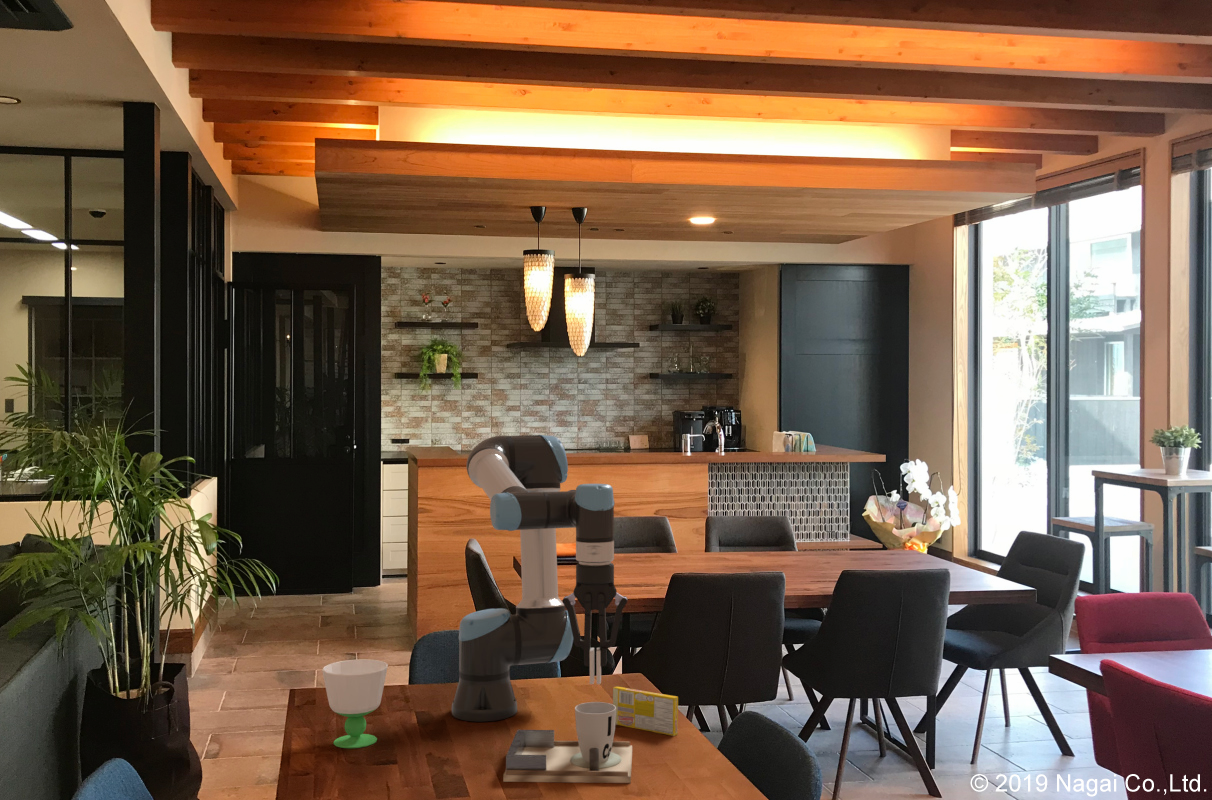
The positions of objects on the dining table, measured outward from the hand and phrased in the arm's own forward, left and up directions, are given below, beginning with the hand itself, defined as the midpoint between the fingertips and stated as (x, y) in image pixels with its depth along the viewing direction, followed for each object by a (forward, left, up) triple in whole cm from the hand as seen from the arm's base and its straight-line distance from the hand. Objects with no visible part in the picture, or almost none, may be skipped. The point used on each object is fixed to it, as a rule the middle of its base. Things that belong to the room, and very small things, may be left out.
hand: (595, 682), depth 198 cm
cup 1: (-49, -22, -17) cm, 56 cm away
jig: (-4, -3, -16) cm, 17 cm away
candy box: (-8, +25, -17) cm, 31 cm away
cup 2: (0, 0, -15) cm, 15 cm away
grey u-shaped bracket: (-10, -8, -15) cm, 20 cm away
